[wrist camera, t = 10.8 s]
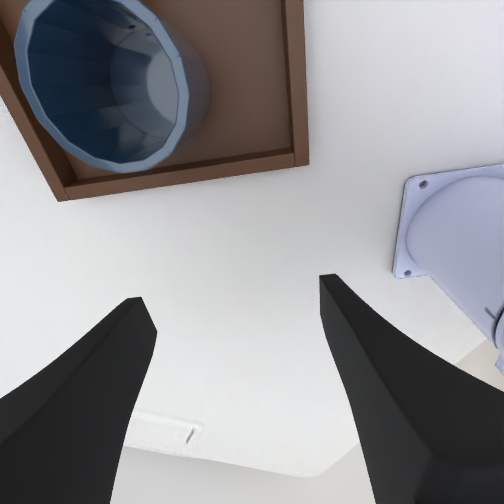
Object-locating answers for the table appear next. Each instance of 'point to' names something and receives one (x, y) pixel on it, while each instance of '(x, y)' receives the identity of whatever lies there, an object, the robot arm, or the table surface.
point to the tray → (222, 99)
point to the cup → (111, 80)
